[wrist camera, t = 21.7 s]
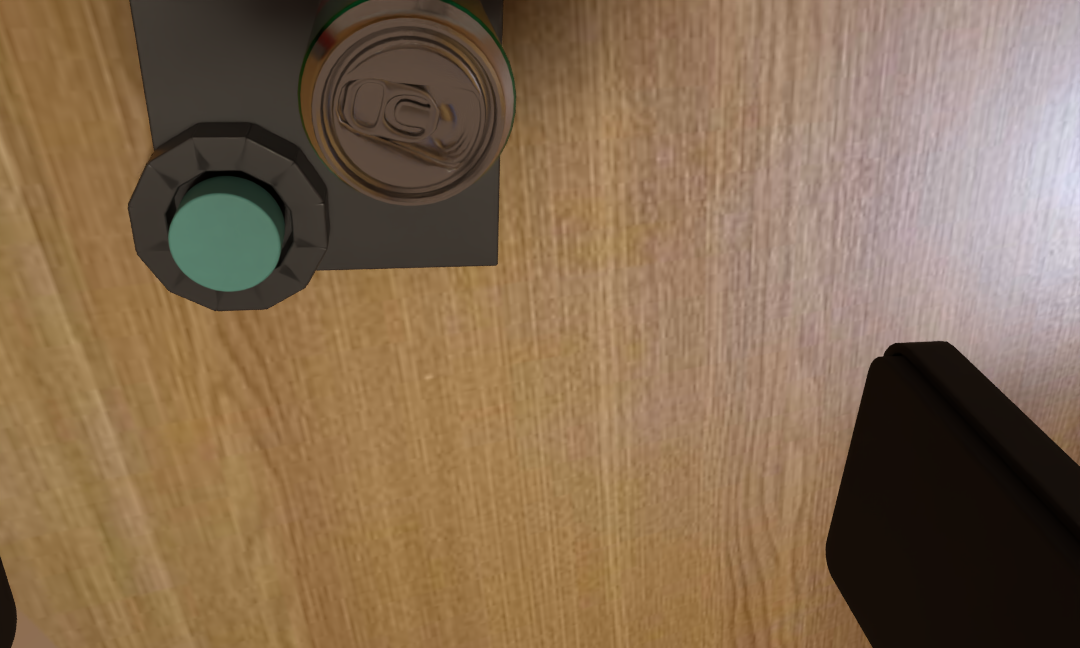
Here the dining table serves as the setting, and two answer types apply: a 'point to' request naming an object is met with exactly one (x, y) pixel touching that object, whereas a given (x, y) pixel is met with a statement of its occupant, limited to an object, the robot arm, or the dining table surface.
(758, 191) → the dining table surface
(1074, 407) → the dining table surface
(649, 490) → the dining table surface
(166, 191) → the scale
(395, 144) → the soda can
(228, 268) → the button
